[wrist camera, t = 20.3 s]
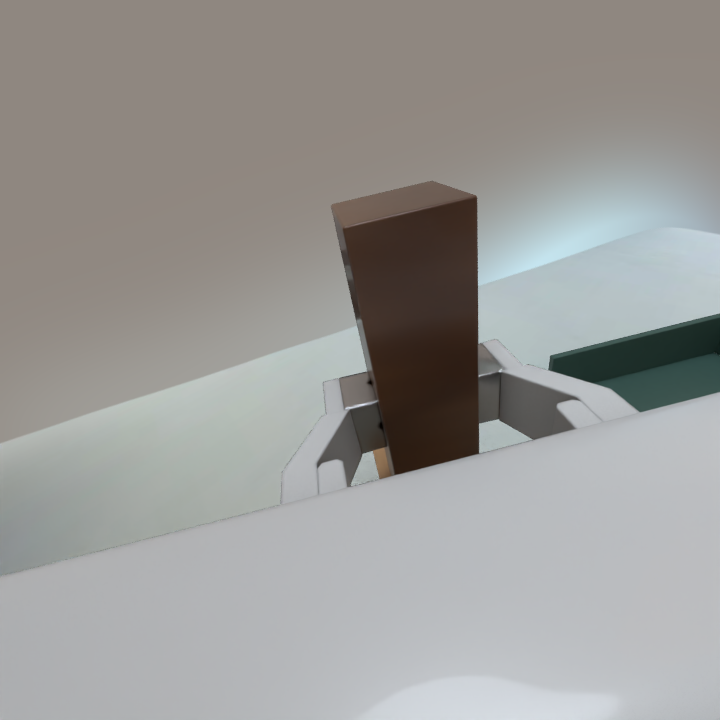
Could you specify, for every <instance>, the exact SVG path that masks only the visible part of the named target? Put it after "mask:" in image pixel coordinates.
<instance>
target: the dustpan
mask: <svg viewBox="0 0 720 720" xmlns="http://www.w3.org/2000/svg"><path fill="white" fill-rule="evenodd" d="M714 352H715V353H714ZM716 353H717V354H716ZM718 354H719V355H718ZM548 370H549V371H553V372H556V373H559V374H563V375H566V376H569V377H573V378H576V379H580V380H583V381H586V382H590V383H593V384H596V385H600V386H603V387H606V388H610V389H612V390H613V391H614V392H615V393H617V394H618V395H619V396H620V397H622V398H623V399H624V400H625V401H627V402H628V403H629V404H630V405H631V406H633V407H634V408H635V409H636V410H638V411H639V412H644V411H648V410H652V409H656V408H659V407H663V406H667V405H671V404H675V403H679V402H683V401H687V400H691V399H695V398H699V397H702V396H706V395H710V394H714V393H718V392H720V314H716V315H712V316H708V317H704V318H700V319H696V320H692V321H687V322H683V323H679V324H675V325H671V326H667V327H663V328H659V329H655V330H651V331H647V332H643V333H639V334H635V335H631V336H627V337H623V338H619V339H615V340H611V341H607V342H603V343H599V344H595V345H591V346H587V347H583V348H579V349H575V350H571V351H567V352H563V353H559V354H555V355H551V356H550V362H549V369H548Z"/></svg>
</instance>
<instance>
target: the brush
mask: <svg viewBox="0 0 720 720" xmlns="http://www.w3.org/2000/svg"><path fill="white" fill-rule="evenodd" d="M331 209H332V213H333V217H334V222H335V227H336V231H337V236H338V240H339V245H340V249H341V253H342V258H343V263H344V268H345V272H346V276H347V281H348V285H349V290H350V294H351V299H352V304H353V308H354V313H355V317H356V322H357V326H358V331H359V335H360V340H361V345H362V349H363V354H364V358H365V363H366V367H367V372H369V375H370V378H371V382H372V386H373V388H374V391H375V394H376V397H377V401H378V405H379V410H380V414H381V419H382V421H381V422H382V425H383V429H384V433H385V438H386V442H387V447H384V448H381V449H377V450H374V451H373V454H374V458H375V462H376V466H377V470H378V474H379V478H380V479H383V478H387V477H390V476H394V475H398V474H402V473H406V472H410V471H414V470H418V469H422V468H426V467H430V466H433V465H437V464H441V463H445V462H449V461H453V460H457V459H461V458H464V457H468V456H472V455H476V454H479V381H478V262H477V261H478V257H477V256H478V249H477V197H476V195H473V194H470V193H467V192H464V191H461V190H458V189H455V188H452V187H449V186H446V185H443V184H440V183H437V182H434V181H430V182H425V183H421V184H417V185H412V186H408V187H404V188H399V189H395V190H391V191H386V192H382V193H378V194H374V195H370V196H366V197H361V198H357V199H353V200H349V201H344V202H340V203H336V204H332V206H331Z"/></svg>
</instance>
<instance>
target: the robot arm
mask: <svg viewBox="0 0 720 720" xmlns="http://www.w3.org/2000/svg"><path fill="white" fill-rule="evenodd" d="M478 381H479V423H484V422H488V421H493V420H497V419H499V420H500V421H502V422H504V423H505V424H507V425H509V426H511V427H512V428H514V429H516V430H518V431H519V432H521V433H523V434H525V435H526V436H528V437H530V438H532V439H533V440H531V441H527V442H523V443H519V444H515V445H511V446H507V447H503V448H499V449H495V450H492V451H488V452H484V453H480V454H476V455H472V456H468V457H464V458H461V459H457V460H453V461H449V462H445V463H441V464H437V465H433V466H430V467H426V468H422V469H418V470H414V471H410V472H406V473H402V474H398V475H394V476H390V477H387V478H383V479H379V480H375V481H371V482H367V483H363V484H359V485H355V486H351V485H350V484H351V482H352V479H353V477H354V474H355V472H356V470H357V467H358V465H359V462H360V460H361V457H362V454H363V453H367V452H370V451H374V450H377V449H381V448H384V447H387V442H386V438H385V433H384V429H383V425H382V422H381V421H382V419H381V414H380V410H379V405H378V401H377V397H376V394H375V391H374V388H373V386H372V382H371V378H370V375H369V372H363V373H359V374H354V375H350V376H345V377H341V378H339V379H338V378H337V379H333V380H329V381H325V382H323V392H324V401H325V410H326V415H323V416H321V417H320V419H319V420H318V422H317V423H316V425H315V426H314V427H313V429H312V430H311V432H310V433H309V434H308V436H307V437H306V439H305V440H304V441H303V443H302V444H301V446H300V447H299V448H298V450H297V451H296V453H295V454H294V455H293V457H292V458H291V460H290V461H289V463H288V464H287V465H286V467H285V468H284V470H283V471H282V481H281V502H280V505H277V506H273V507H269V508H265V509H261V510H257V511H253V512H250V513H246V514H242V515H238V516H234V517H230V518H226V519H222V520H218V521H214V522H210V523H207V524H203V525H199V526H195V527H191V528H187V529H183V530H179V531H175V532H171V533H167V534H163V535H160V536H156V537H152V538H148V539H144V540H140V541H136V542H132V543H128V544H124V545H120V546H116V547H113V548H109V549H105V550H101V551H97V552H93V553H89V554H85V555H81V556H77V557H73V558H70V559H66V560H62V561H58V562H54V563H50V564H46V565H42V566H38V567H34V568H30V569H26V570H22V571H18V572H14V573H10V574H5V575H1V576H0V720H720V392H718V393H714V394H710V395H706V396H702V397H699V398H695V399H691V400H687V401H683V402H679V403H675V404H671V405H667V406H663V407H659V408H656V409H652V410H648V411H644V412H639V411H638V410H636V409H635V408H634V407H633V406H631V405H630V404H629V403H628V402H627V401H625V400H624V399H623V398H622V397H620V396H619V395H618V394H617V393H615V392H614V391H613V390H612V389H610V388H606V387H603V386H600V385H596V384H593V383H590V382H586V381H583V380H580V379H576V378H573V377H569V376H566V375H563V374H559V373H556V372H553V371H549V370H546V369H543V368H539V367H536V366H533V365H529V364H527V365H523V364H522V363H521V362H520V361H519V360H518V359H517V358H516V357H515V356H514V355H513V354H512V353H511V352H510V351H509V350H508V349H507V348H506V347H505V346H504V345H502V344H501V343H500V342H499V341H498V340H496V339H493V340H490V341H486V342H483V343H480V344H478Z"/></svg>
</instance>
